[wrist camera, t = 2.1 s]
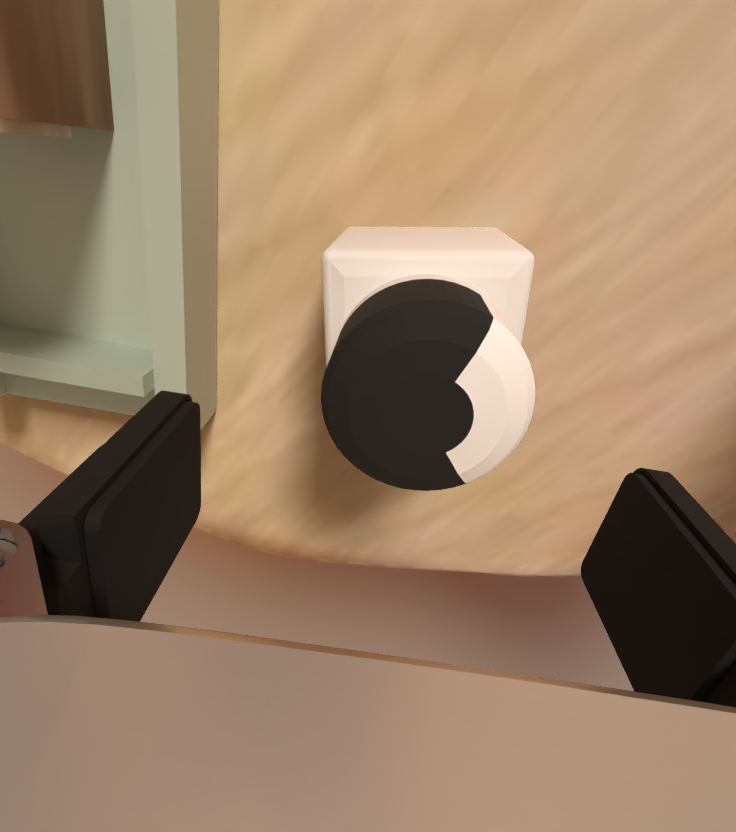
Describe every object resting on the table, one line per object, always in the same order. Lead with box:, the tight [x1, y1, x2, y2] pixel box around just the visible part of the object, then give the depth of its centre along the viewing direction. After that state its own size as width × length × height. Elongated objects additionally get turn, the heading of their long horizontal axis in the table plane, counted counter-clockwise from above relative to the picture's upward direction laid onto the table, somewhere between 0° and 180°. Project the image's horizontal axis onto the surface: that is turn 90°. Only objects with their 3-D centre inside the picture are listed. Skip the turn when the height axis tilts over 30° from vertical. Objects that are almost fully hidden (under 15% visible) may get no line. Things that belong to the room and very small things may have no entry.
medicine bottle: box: [321, 227, 535, 491], centre depth 18 cm, size 7×7×12 cm
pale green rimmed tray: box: [0, 0, 219, 431], centre depth 20 cm, size 12×20×5 cm, turn 171°
